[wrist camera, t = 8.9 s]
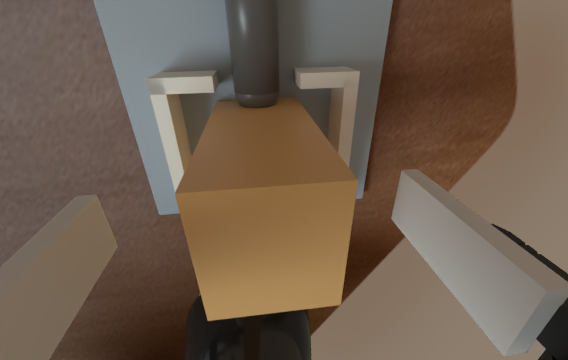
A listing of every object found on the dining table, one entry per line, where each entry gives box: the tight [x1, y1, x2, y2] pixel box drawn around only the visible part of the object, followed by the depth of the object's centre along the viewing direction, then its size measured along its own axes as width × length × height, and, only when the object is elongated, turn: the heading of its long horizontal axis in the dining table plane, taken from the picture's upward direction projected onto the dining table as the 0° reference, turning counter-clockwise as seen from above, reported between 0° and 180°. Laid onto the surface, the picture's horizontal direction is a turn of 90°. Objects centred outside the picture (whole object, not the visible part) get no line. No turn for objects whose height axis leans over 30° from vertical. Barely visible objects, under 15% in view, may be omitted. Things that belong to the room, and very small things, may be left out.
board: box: [93, 0, 393, 215], centre depth 15 cm, size 19×16×3 cm
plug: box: [175, 0, 358, 321], centre depth 11 cm, size 16×5×11 cm, turn 1°
